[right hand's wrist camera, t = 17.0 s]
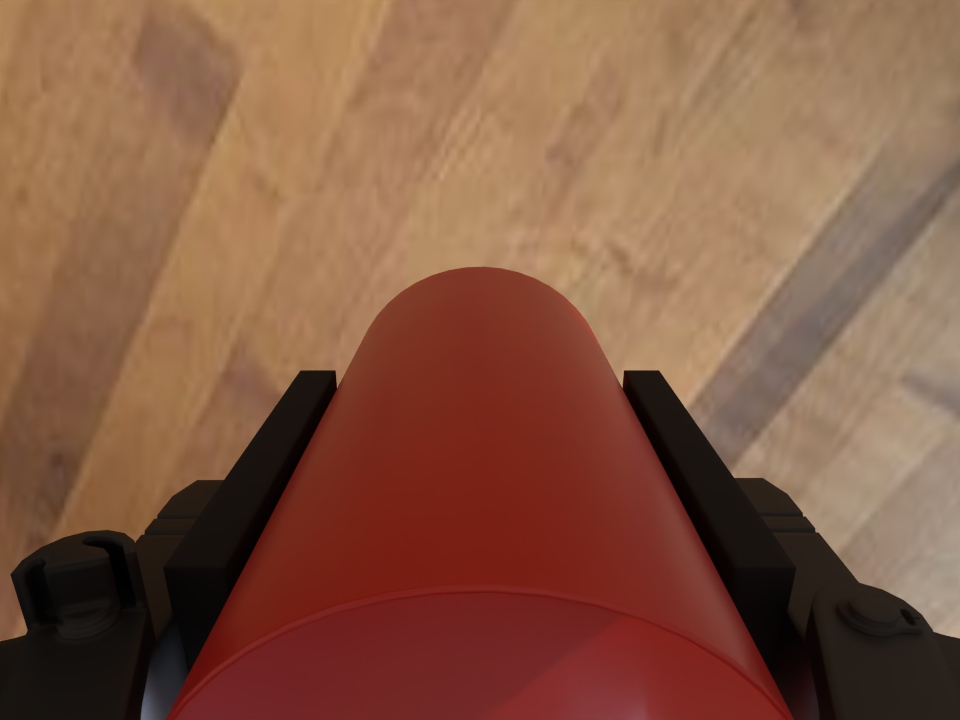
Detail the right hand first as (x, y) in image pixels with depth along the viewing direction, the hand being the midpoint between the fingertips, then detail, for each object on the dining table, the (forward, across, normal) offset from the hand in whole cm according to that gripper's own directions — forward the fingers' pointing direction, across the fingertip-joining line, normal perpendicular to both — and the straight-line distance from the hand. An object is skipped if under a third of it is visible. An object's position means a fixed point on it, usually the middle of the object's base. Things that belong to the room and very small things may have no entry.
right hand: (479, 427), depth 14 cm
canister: (+2, 0, 0) cm, 2 cm away
